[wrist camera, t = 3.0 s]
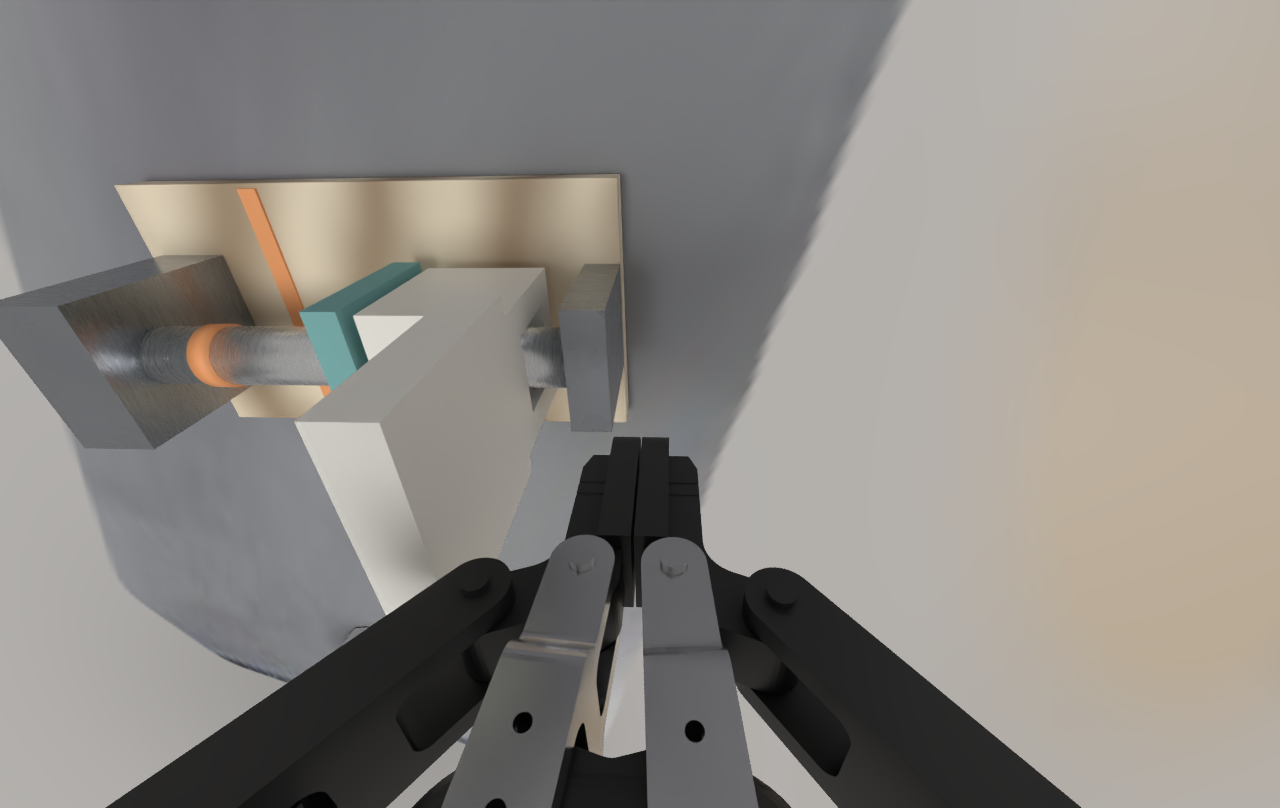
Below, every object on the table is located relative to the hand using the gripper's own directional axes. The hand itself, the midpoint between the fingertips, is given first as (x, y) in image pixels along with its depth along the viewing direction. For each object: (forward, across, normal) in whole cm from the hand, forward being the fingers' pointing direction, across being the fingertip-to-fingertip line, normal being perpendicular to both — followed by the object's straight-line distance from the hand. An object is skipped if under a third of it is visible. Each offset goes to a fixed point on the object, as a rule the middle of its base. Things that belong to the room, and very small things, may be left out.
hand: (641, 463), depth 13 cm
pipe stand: (+13, +12, 0) cm, 18 cm away
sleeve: (+9, +7, 0) cm, 12 cm away
